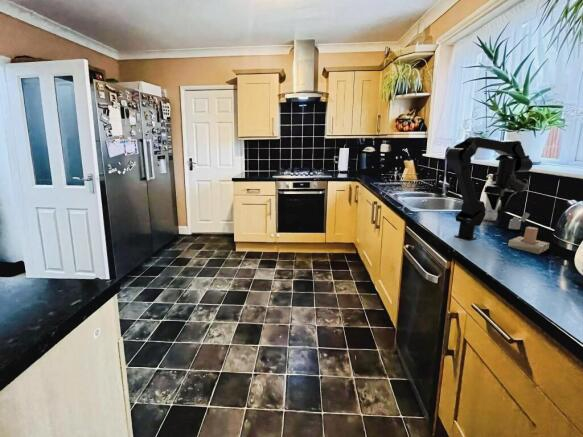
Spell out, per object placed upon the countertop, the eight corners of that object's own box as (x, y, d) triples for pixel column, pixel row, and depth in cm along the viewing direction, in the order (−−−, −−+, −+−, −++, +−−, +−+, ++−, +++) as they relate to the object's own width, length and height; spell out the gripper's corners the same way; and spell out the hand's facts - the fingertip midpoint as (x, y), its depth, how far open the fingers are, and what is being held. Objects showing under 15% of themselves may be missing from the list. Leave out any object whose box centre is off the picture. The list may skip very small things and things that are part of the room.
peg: (530, 249, 122) (535, 229, 120) (521, 247, 124) (525, 227, 122) (533, 248, 123) (538, 228, 121) (525, 246, 126) (529, 226, 124)
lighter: (509, 228, 150) (513, 212, 148) (508, 227, 152) (511, 211, 150) (526, 230, 149) (530, 213, 147) (524, 229, 151) (528, 212, 149)
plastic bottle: (481, 218, 170) (488, 180, 165) (496, 220, 166) (504, 182, 161) (480, 220, 164) (487, 181, 160) (495, 222, 161) (503, 183, 156)
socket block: (538, 254, 117) (539, 247, 116) (507, 246, 125) (509, 240, 124) (548, 249, 123) (549, 243, 122) (518, 242, 130) (519, 236, 130)
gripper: (518, 174, 121) (510, 215, 124) (537, 172, 131) (529, 209, 135) (486, 172, 129) (480, 209, 133) (507, 170, 140) (500, 205, 144)
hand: (498, 208), depth 136 cm, fingers open, 9 cm apart
